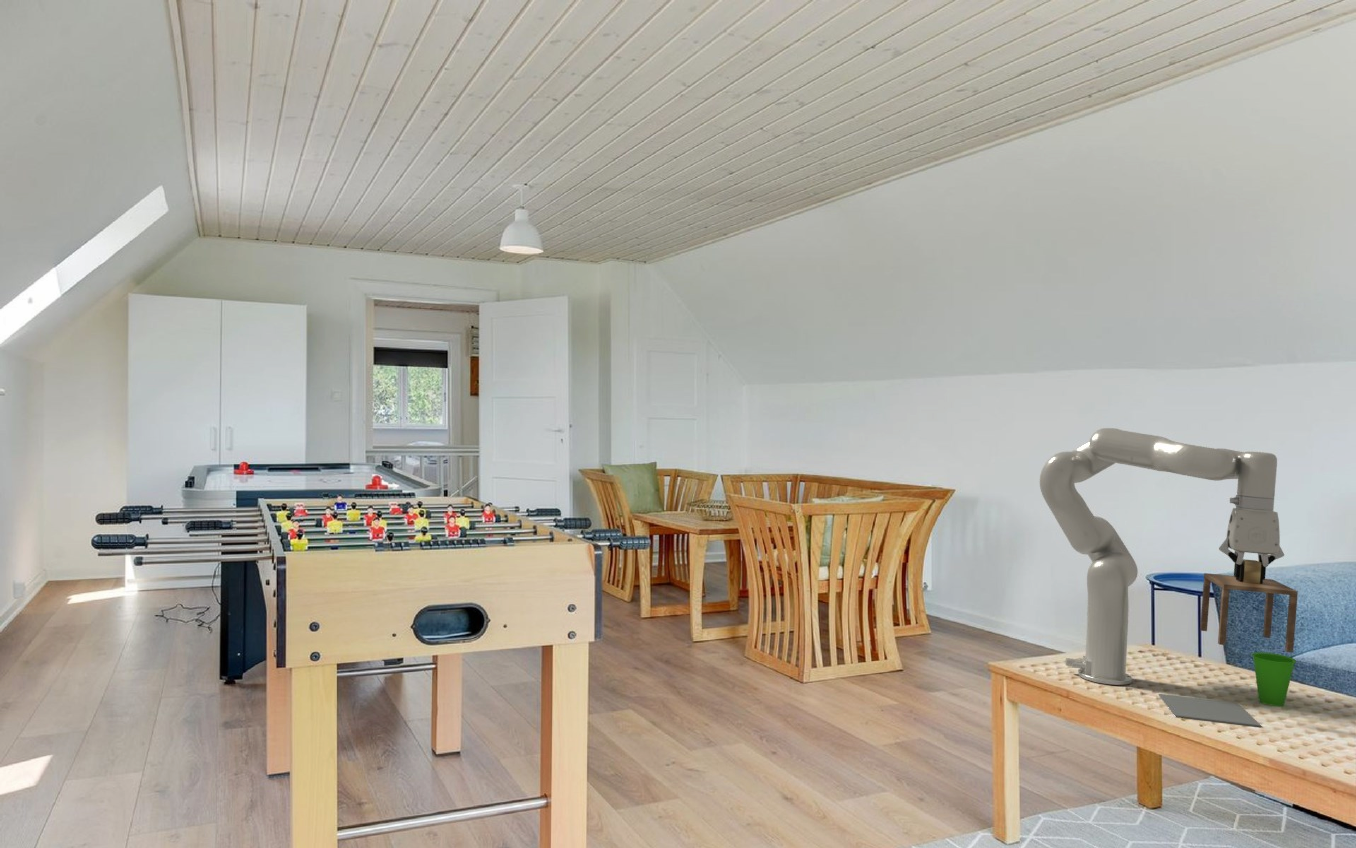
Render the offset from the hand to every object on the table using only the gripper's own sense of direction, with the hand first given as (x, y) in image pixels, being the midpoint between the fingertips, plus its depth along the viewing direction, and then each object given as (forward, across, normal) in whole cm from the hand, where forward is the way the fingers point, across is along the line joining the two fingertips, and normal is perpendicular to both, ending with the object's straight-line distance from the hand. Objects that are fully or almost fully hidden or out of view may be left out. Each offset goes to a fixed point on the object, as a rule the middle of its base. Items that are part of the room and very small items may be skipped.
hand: (1249, 580), depth 218 cm
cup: (+30, +8, +5) cm, 31 cm away
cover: (+14, 0, 0) cm, 14 cm away
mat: (+30, -9, -8) cm, 32 cm away
